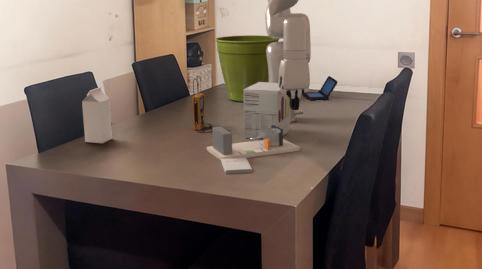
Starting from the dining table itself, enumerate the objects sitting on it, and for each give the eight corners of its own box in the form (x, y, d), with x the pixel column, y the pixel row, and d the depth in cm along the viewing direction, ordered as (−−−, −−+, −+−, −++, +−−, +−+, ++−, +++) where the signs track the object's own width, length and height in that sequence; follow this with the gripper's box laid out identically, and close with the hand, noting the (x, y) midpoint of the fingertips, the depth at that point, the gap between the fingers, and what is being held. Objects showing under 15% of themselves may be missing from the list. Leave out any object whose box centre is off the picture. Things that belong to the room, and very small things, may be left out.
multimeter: (216, 133, 236) (215, 80, 231) (190, 132, 238) (188, 80, 233) (225, 124, 250) (224, 74, 245) (200, 123, 252) (199, 73, 247)
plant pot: (280, 104, 285) (281, 40, 278) (215, 105, 286) (213, 41, 279) (278, 92, 314) (278, 34, 307) (218, 93, 315) (216, 35, 308)
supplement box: (278, 141, 224) (278, 91, 220) (243, 138, 229) (242, 89, 224) (291, 130, 240) (291, 82, 236) (258, 127, 245) (258, 81, 240)
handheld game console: (302, 95, 308) (302, 76, 305) (328, 94, 309) (329, 75, 307) (309, 101, 293) (309, 81, 290) (337, 100, 294) (338, 80, 292)
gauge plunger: (273, 140, 220) (273, 125, 218) (286, 147, 211) (286, 131, 209) (246, 144, 216) (245, 128, 214) (257, 151, 207) (257, 134, 206)
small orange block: (266, 147, 210) (266, 138, 210) (270, 149, 208) (270, 140, 207) (264, 147, 210) (264, 138, 209) (267, 149, 207) (267, 140, 207)
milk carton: (112, 138, 231) (109, 87, 226) (102, 143, 224) (98, 91, 220) (95, 137, 233) (91, 86, 228) (84, 142, 227) (80, 90, 222)
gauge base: (281, 140, 225) (281, 118, 223) (299, 150, 212) (299, 126, 210) (206, 150, 214) (206, 126, 212) (221, 161, 202) (221, 136, 200)
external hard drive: (225, 175, 189) (221, 163, 201) (252, 174, 190) (246, 162, 202) (225, 170, 189) (221, 158, 201) (252, 168, 190) (246, 157, 202)
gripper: (308, 53, 217) (308, 105, 221) (269, 55, 212) (269, 109, 216) (319, 55, 210) (319, 109, 215) (279, 57, 205) (279, 113, 209)
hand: (294, 109), depth 215 cm, fingers closed
